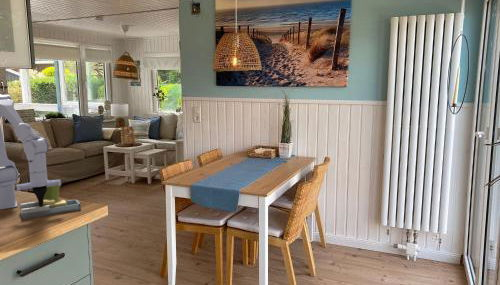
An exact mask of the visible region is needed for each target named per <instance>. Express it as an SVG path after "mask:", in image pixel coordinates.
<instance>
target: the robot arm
mask: <svg viewBox="0 0 500 285" xmlns="http://www.w3.org/2000/svg"><path fill="white" fill-rule="evenodd" d="M2 117H4V118H5V119H6V120H7V121H8V122H9V123H10V124H11V125H12V127H14V129H13V130H14V131H13V132H14V134H15V136H16V137H17V138H18V139H19V141H20V142H21V144H22V145H23V147H22V148H23V151H24V154H25V156H26V160H27V161H28V172H29V173H28V174H29V182H25V183H20V184H16V183H17V180H18V179H19V169H17V167H16V164H15V162H14V161H13V160H10V159H9V157H8V155H7V150H6V145H5V140H4V135H3V130H2V126H1V124H0V210H5V209H12V208H18V202H17V198H16V191H17V192H19V191H24V190H32V192H33V194H34V195H35V196H36V200H37V201H39V206H42V203H43V198H44V196H45V193H46V191H47V187H49V186H57V185H58V186H60V187H61V186H62V181H61V179H48V169H47V158H46V157H47V156H46V153H47V152H48V151H49V148H50V146H49V145H50V144H49V142H48V141H47V139H46V138H44V137H42V136H40V135H38V134H37V133H36V131H35V130H34V129H33V127H32V126H31V125H30V123H24V120H22V117H21V116H20V114H19V113H18V112H17V110H16V109H15V101H14V100H13V99H12V97H11V96H10V95H9V94H0V119H2ZM15 184H16V190H15Z"/></svg>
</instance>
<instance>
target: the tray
mask: <svg viewBox="0 0 500 285" xmlns="http://www.w3.org/2000/svg"><path fill="white" fill-rule="evenodd" d="M65 201H66V204H67V206H60V207H54V208H50V215H57V214H60V213H68V212H73V211H80V210H82V206H81V205H82V203H80V201H79V200H78V198H76V199H69V200H65Z"/></svg>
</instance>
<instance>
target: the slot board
mask: <svg viewBox="0 0 500 285" xmlns="http://www.w3.org/2000/svg"><path fill="white" fill-rule="evenodd" d="M19 208H20V215H21V216H20V217H21V220H26V219H27V220H28V219H33V218H39V217H40V218H41V217H46V216H50V215H51V214H50V206H49V205H45V206H39V201H38V200H37V201H32V202H24V203H23V202H22V203H20V204H19Z"/></svg>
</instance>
